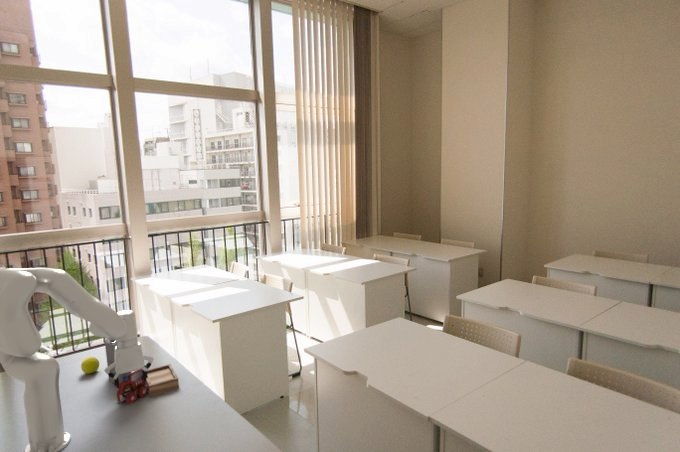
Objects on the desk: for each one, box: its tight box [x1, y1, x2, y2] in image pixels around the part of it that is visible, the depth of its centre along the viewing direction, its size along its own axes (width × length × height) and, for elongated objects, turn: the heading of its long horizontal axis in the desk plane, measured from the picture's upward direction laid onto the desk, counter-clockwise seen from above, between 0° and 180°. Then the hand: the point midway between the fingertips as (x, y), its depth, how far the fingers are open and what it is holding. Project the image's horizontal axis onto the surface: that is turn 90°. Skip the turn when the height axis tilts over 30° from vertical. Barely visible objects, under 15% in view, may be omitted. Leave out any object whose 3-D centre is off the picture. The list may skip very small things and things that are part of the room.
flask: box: [104, 338, 132, 385], centre depth 181 cm, size 15×6×20 cm, turn 50°
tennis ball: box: [80, 356, 100, 375], centre depth 190 cm, size 7×7×7 cm
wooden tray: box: [146, 363, 180, 397], centre depth 177 cm, size 16×11×4 cm
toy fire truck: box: [116, 369, 149, 404], centre depth 166 cm, size 7×12×10 cm, turn 153°
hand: (131, 383), depth 166 cm, fingers open, 9 cm apart
